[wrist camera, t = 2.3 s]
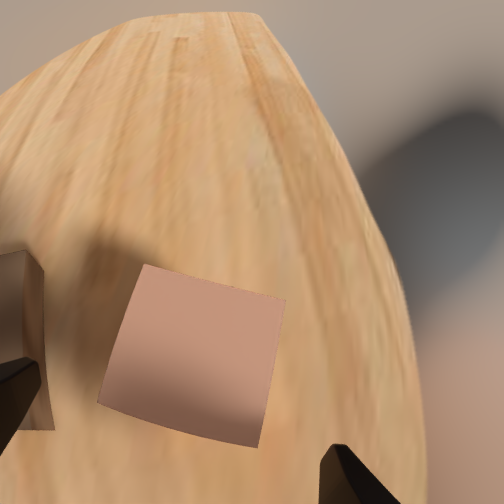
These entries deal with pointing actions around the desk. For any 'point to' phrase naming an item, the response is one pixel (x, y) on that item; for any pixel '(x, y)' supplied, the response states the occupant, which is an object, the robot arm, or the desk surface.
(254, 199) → the desk surface
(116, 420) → the desk surface
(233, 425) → the terracotta block
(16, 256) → the walnut plinth
